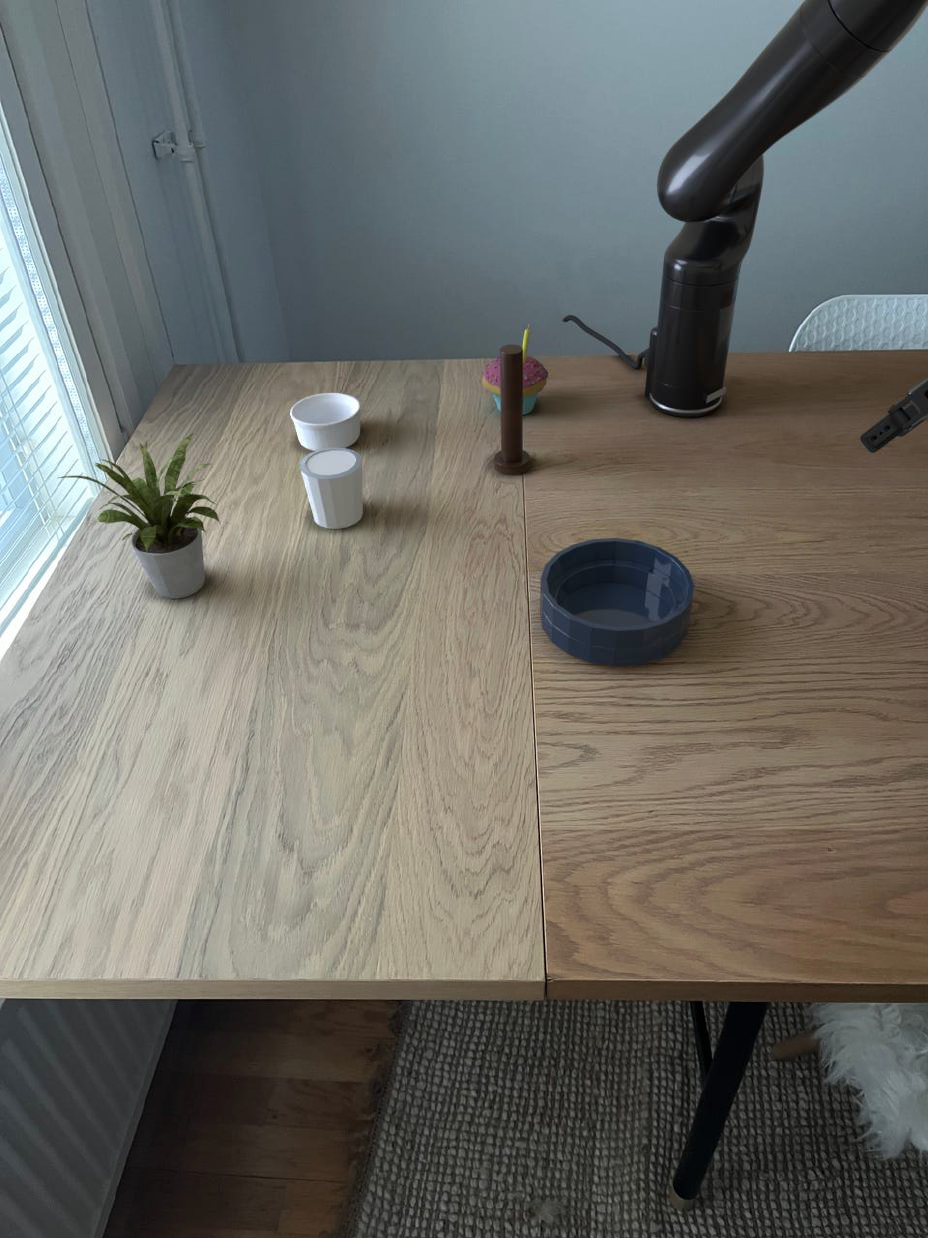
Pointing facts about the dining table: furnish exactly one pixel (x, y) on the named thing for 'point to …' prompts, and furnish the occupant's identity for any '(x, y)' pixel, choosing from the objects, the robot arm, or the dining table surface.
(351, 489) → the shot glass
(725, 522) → the dining table surface
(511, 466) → the stirrer
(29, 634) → the dining table surface
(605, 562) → the bowl
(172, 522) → the house plant
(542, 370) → the cupcake
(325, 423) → the ramekin
